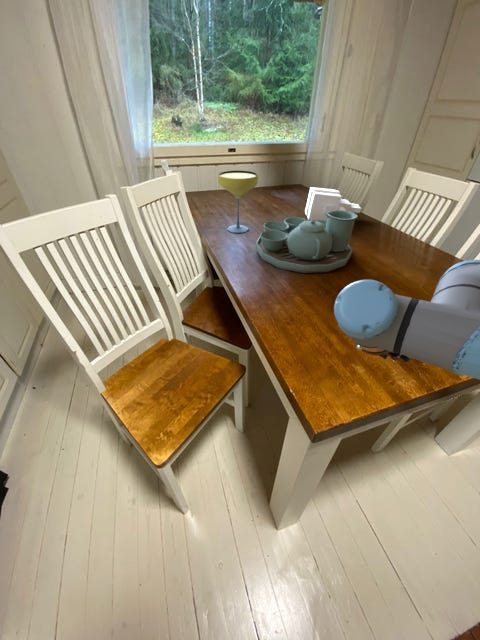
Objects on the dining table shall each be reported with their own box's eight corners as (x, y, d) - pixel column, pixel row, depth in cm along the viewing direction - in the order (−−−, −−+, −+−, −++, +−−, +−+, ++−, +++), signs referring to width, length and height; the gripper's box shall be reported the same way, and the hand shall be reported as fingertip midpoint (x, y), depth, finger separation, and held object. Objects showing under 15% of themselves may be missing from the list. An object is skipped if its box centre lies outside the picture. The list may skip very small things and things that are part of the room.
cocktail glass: (246, 221, 147) (248, 169, 132) (261, 233, 134) (265, 176, 119) (215, 225, 142) (212, 171, 126) (227, 238, 129) (226, 180, 113)
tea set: (310, 229, 138) (316, 195, 128) (370, 262, 110) (384, 221, 100) (240, 242, 125) (240, 205, 115) (288, 284, 97) (294, 239, 87)
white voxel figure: (360, 230, 144) (308, 224, 143) (348, 214, 163) (301, 209, 162) (371, 200, 134) (315, 194, 134) (356, 188, 154) (307, 182, 153)
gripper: (329, 331, 50) (351, 350, 70) (400, 370, 43) (403, 380, 62) (351, 296, 50) (367, 326, 69) (427, 330, 43) (421, 353, 62)
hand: (384, 352), depth 66 cm, fingers closed
